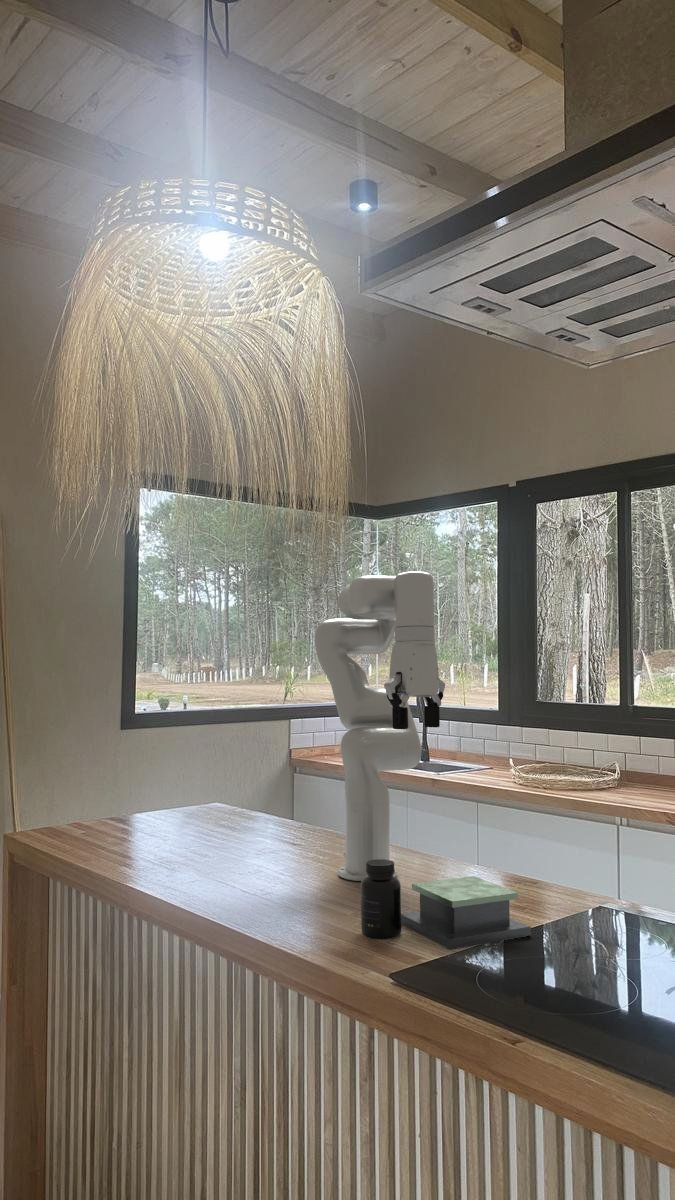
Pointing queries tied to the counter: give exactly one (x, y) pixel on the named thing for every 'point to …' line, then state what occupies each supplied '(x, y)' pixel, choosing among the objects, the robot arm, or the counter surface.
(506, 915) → the stand
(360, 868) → the robot arm
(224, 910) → the counter surface
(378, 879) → the supplement bottle
